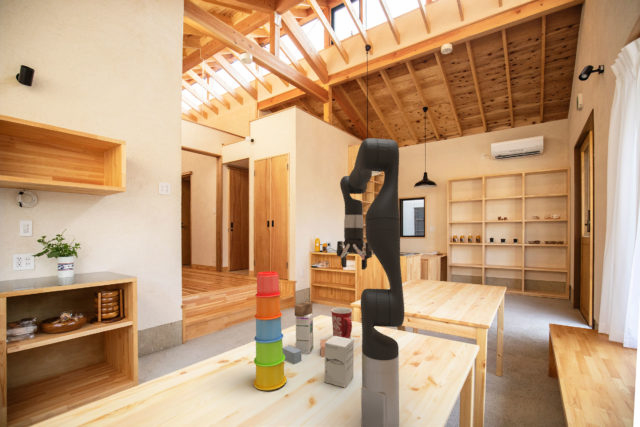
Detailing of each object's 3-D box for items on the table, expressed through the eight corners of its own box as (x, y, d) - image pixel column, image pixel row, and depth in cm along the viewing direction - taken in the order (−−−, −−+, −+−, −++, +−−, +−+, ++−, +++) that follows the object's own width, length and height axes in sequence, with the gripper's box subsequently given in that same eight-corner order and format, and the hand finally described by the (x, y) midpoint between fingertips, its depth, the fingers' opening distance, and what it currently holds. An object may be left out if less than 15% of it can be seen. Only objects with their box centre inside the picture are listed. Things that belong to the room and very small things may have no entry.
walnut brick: (301, 317, 112) (301, 306, 113) (294, 315, 114) (294, 305, 115) (312, 312, 118) (312, 302, 118) (305, 311, 120) (305, 301, 120)
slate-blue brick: (301, 361, 107) (301, 350, 107) (294, 364, 105) (294, 353, 105) (288, 355, 112) (288, 345, 112) (281, 358, 109) (281, 347, 110)
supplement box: (323, 382, 92) (323, 342, 93) (333, 372, 99) (333, 334, 100) (345, 389, 89) (345, 346, 90) (354, 377, 96) (354, 338, 96)
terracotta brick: (330, 357, 111) (330, 346, 111) (321, 357, 110) (321, 346, 111) (329, 349, 118) (329, 339, 118) (320, 349, 117) (320, 339, 118)
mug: (328, 339, 128) (328, 308, 128) (347, 336, 131) (347, 306, 131) (339, 351, 116) (339, 316, 116) (359, 348, 119) (359, 314, 119)
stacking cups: (254, 394, 86) (255, 275, 88) (252, 376, 96) (254, 270, 97) (289, 389, 89) (289, 274, 90) (284, 372, 99) (284, 269, 100)
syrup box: (310, 354, 113) (310, 316, 113) (295, 353, 114) (295, 315, 115) (313, 348, 118) (313, 312, 119) (299, 347, 120) (299, 311, 120)
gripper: (333, 226, 116) (333, 267, 115) (365, 226, 107) (366, 271, 107) (343, 226, 122) (343, 265, 121) (374, 226, 113) (374, 268, 113)
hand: (353, 268), depth 114 cm, fingers open, 8 cm apart
